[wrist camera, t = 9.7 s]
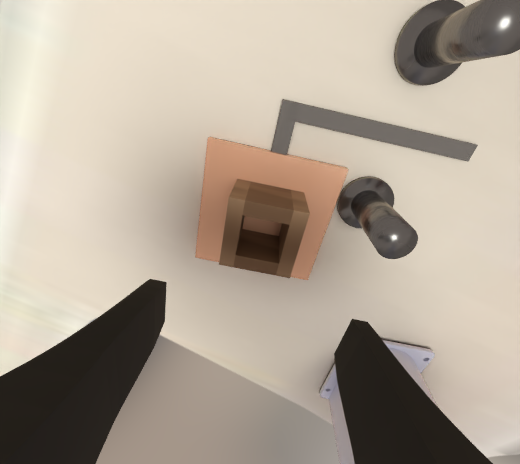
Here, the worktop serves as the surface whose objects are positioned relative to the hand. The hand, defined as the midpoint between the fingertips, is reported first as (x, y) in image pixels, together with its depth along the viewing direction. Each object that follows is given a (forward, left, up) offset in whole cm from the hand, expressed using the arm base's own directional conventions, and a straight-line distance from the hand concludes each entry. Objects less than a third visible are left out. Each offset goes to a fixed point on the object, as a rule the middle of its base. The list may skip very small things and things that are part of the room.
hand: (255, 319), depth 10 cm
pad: (0, 0, -10) cm, 10 cm away
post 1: (+3, -6, -10) cm, 12 cm away
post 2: (+12, -6, -10) cm, 16 cm away
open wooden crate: (0, 0, -9) cm, 9 cm away
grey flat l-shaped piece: (+6, -5, -10) cm, 13 cm away
